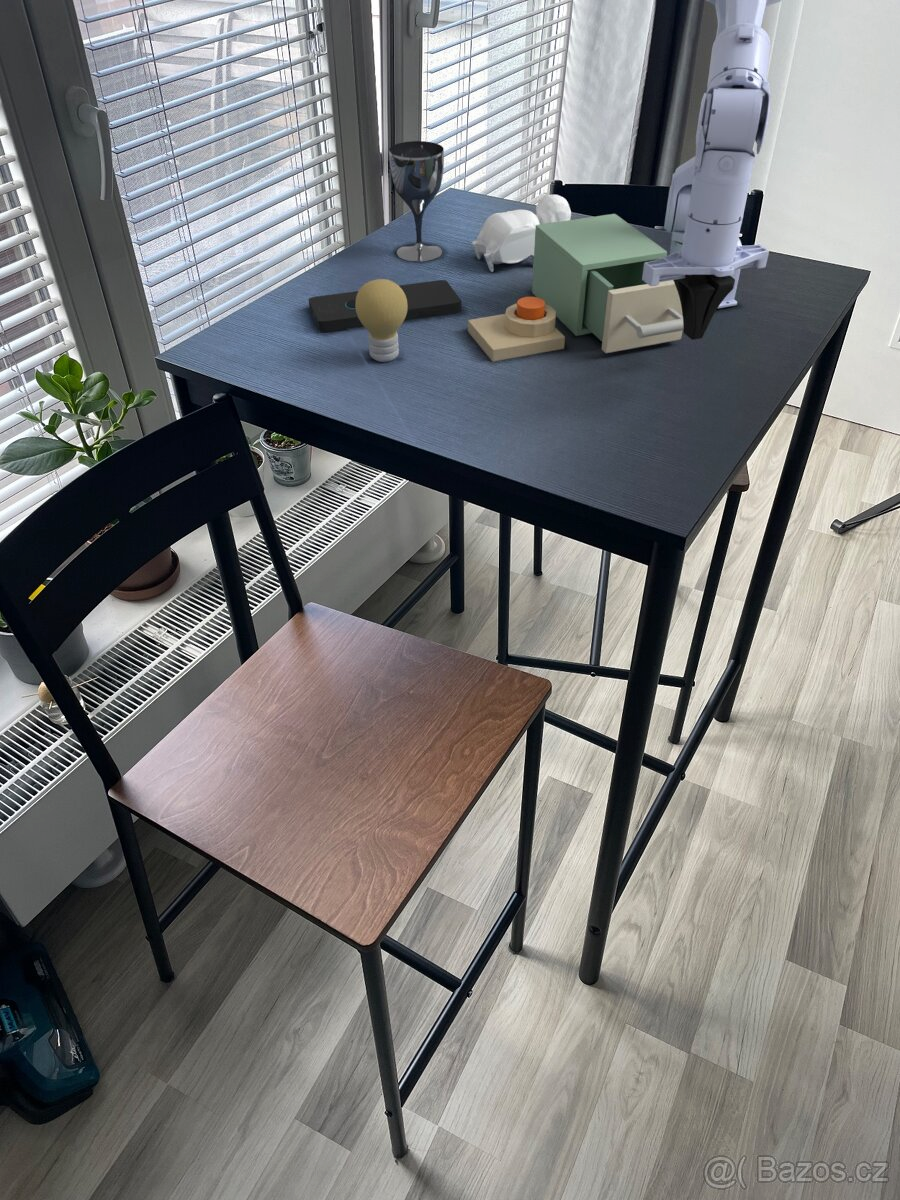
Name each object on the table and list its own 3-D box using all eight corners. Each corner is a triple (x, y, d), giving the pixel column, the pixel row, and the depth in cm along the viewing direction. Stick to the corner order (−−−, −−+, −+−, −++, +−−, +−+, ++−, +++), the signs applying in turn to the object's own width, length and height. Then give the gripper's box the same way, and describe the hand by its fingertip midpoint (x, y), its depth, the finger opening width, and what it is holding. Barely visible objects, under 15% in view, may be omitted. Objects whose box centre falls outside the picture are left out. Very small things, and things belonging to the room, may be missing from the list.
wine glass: (392, 243, 145) (387, 142, 135) (442, 241, 146) (441, 140, 136) (394, 263, 140) (389, 158, 130) (446, 261, 140) (446, 157, 130)
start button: (537, 307, 121) (538, 294, 120) (548, 318, 118) (549, 305, 117) (512, 311, 120) (512, 298, 119) (523, 323, 117) (523, 310, 116)
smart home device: (307, 296, 127) (445, 277, 131) (308, 308, 128) (445, 289, 133) (318, 321, 121) (462, 301, 126) (319, 333, 122) (462, 313, 127)
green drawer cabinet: (656, 322, 124) (667, 251, 118) (575, 336, 121) (582, 265, 115) (607, 280, 135) (614, 213, 128) (531, 292, 132) (535, 224, 125)
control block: (537, 319, 125) (539, 295, 123) (566, 348, 119) (568, 323, 117) (467, 331, 123) (467, 306, 120) (492, 362, 116) (493, 336, 114)
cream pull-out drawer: (700, 355, 115) (711, 296, 110) (623, 370, 113) (631, 310, 107) (631, 297, 128) (638, 241, 123) (560, 309, 125) (564, 253, 120)
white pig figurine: (501, 293, 138) (588, 244, 138) (483, 244, 132) (573, 192, 132) (480, 272, 144) (563, 224, 144) (462, 224, 138) (548, 174, 138)
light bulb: (371, 374, 114) (366, 296, 108) (351, 352, 118) (345, 277, 112) (417, 362, 116) (415, 286, 110) (396, 341, 121) (393, 267, 114)
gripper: (674, 237, 92) (654, 361, 102) (795, 219, 96) (766, 340, 105) (640, 214, 97) (624, 333, 106) (757, 197, 101) (732, 314, 110)
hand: (693, 335), depth 106 cm, fingers closed
